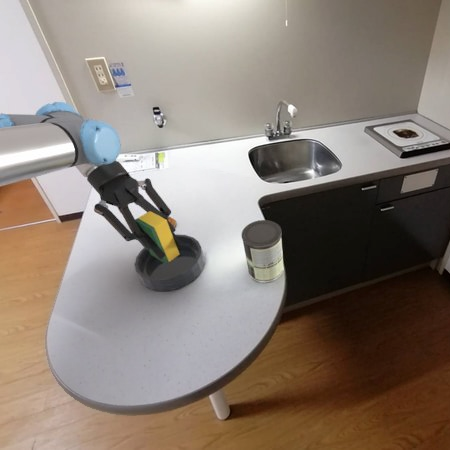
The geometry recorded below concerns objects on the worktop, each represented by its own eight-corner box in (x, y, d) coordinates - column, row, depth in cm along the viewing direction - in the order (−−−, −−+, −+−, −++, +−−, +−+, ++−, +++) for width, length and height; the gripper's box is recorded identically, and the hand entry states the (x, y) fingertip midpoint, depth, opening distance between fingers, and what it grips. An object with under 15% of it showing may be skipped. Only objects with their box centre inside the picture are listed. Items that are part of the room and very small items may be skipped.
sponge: (166, 264, 72) (151, 229, 65) (150, 254, 75) (134, 219, 68) (179, 254, 75) (166, 219, 68) (164, 244, 78) (149, 210, 70)
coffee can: (240, 274, 86) (233, 237, 77) (262, 251, 93) (257, 215, 84) (270, 288, 82) (266, 251, 73) (290, 264, 89) (289, 227, 80)
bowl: (176, 300, 80) (171, 288, 76) (127, 280, 85) (120, 268, 82) (216, 256, 92) (213, 244, 89) (171, 240, 97) (166, 228, 94)
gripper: (133, 161, 76) (194, 234, 79) (62, 194, 65) (136, 277, 69) (139, 146, 70) (204, 226, 74) (61, 180, 59) (142, 271, 63)
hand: (171, 251), depth 71 cm, fingers closed on sponge, 4 cm apart
